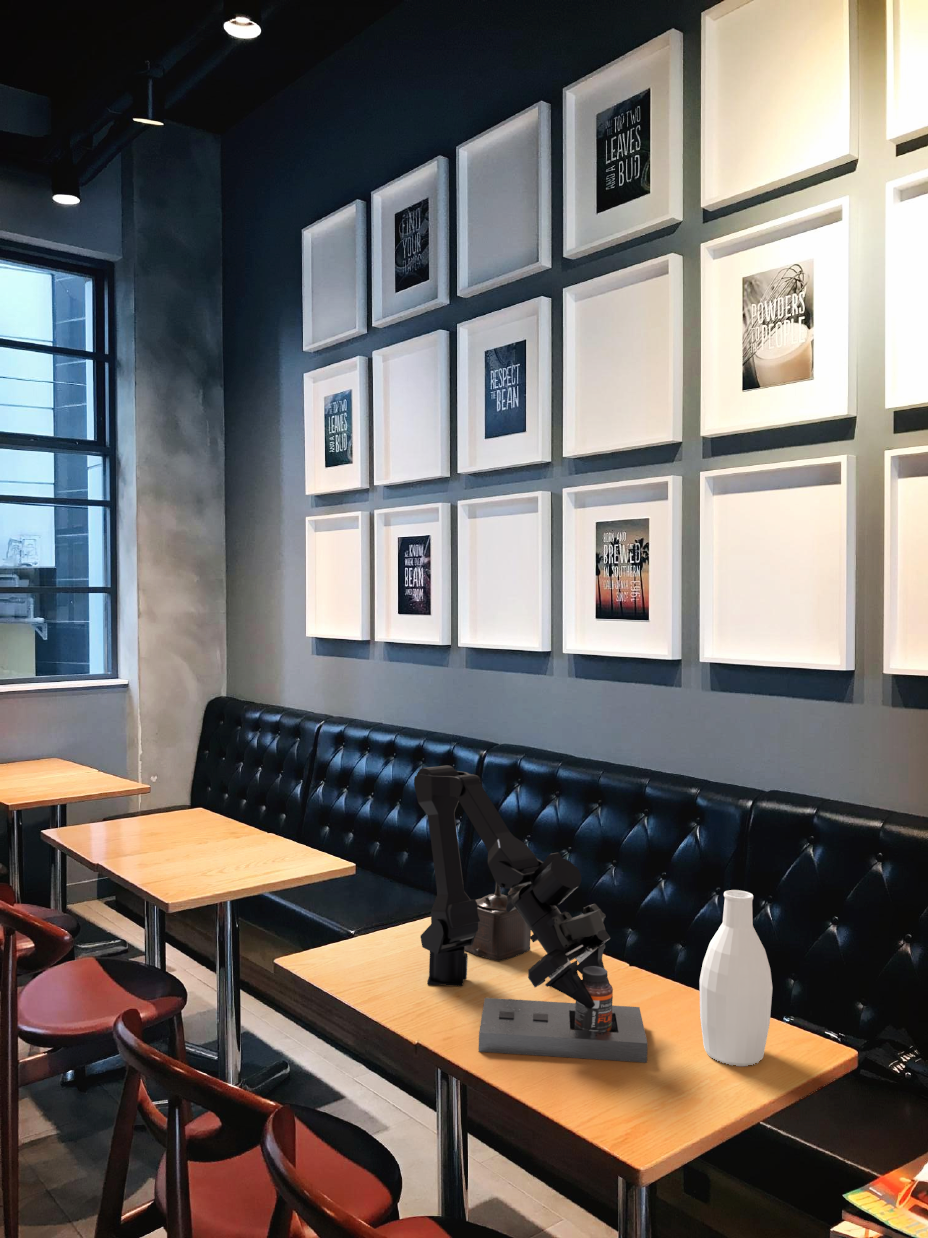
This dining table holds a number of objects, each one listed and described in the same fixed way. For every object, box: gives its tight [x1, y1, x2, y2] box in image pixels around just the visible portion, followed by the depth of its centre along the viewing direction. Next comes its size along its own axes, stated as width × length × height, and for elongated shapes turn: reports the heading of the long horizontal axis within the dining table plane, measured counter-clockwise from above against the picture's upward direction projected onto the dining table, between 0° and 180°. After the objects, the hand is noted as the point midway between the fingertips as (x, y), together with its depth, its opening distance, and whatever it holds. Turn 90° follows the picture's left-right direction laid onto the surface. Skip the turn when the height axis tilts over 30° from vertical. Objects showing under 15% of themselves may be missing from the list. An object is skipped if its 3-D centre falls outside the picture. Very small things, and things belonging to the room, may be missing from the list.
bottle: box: [699, 889, 773, 1067], centre depth 158 cm, size 11×11×25 cm
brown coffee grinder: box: [465, 882, 532, 962], centre depth 201 cm, size 16×11×18 cm
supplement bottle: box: [574, 966, 614, 1032], centre depth 162 cm, size 6×6×11 cm
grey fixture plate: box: [478, 997, 648, 1063], centre depth 163 cm, size 26×14×3 cm, turn 85°
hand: (601, 1001), depth 161 cm, fingers closed on supplement bottle, 6 cm apart
